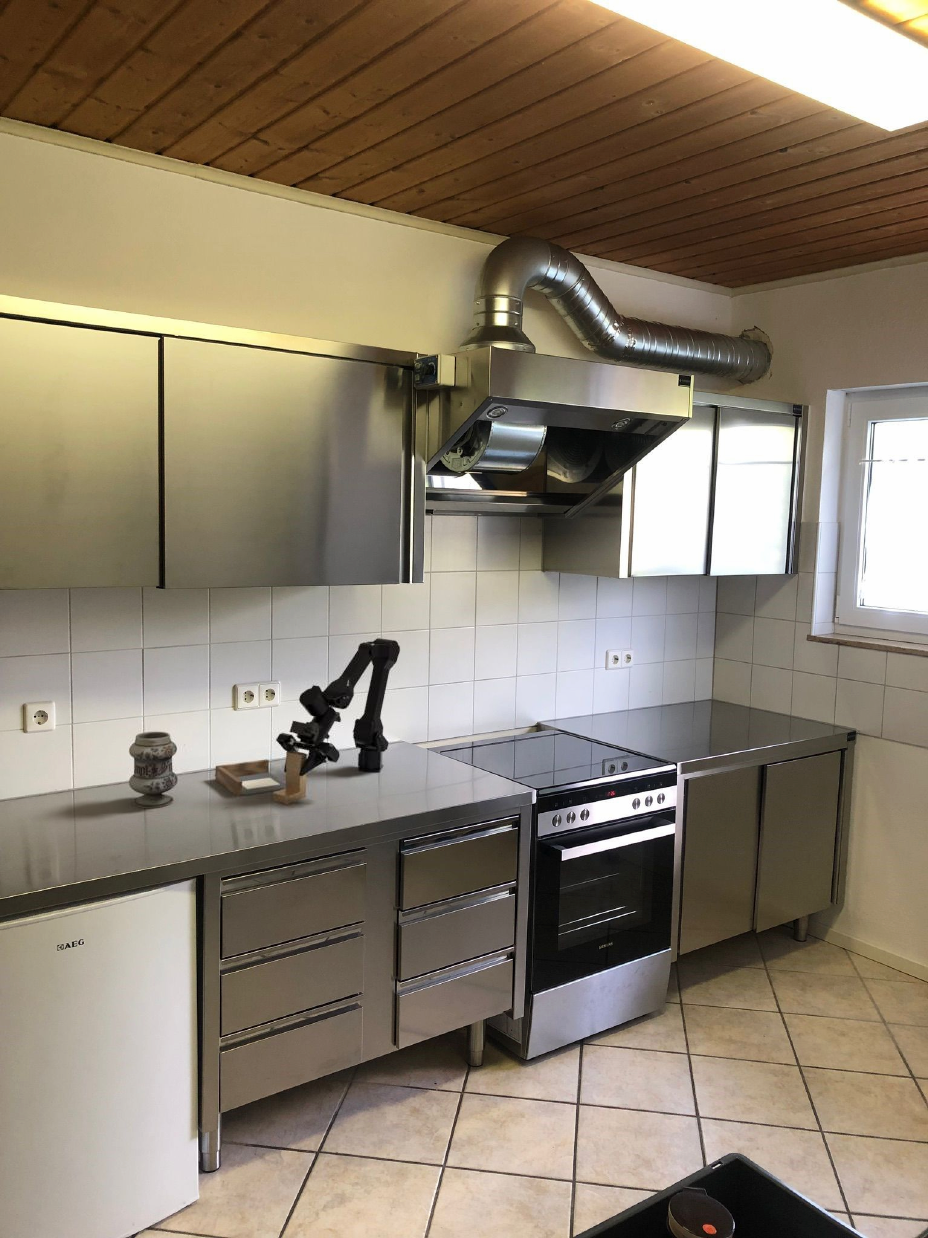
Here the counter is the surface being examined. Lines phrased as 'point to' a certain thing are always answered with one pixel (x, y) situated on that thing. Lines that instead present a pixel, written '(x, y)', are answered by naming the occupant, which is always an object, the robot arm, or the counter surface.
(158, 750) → the apothecary jar
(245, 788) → the mat
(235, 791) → the corner walls
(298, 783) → the wooden l-shaped block
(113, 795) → the counter surface
